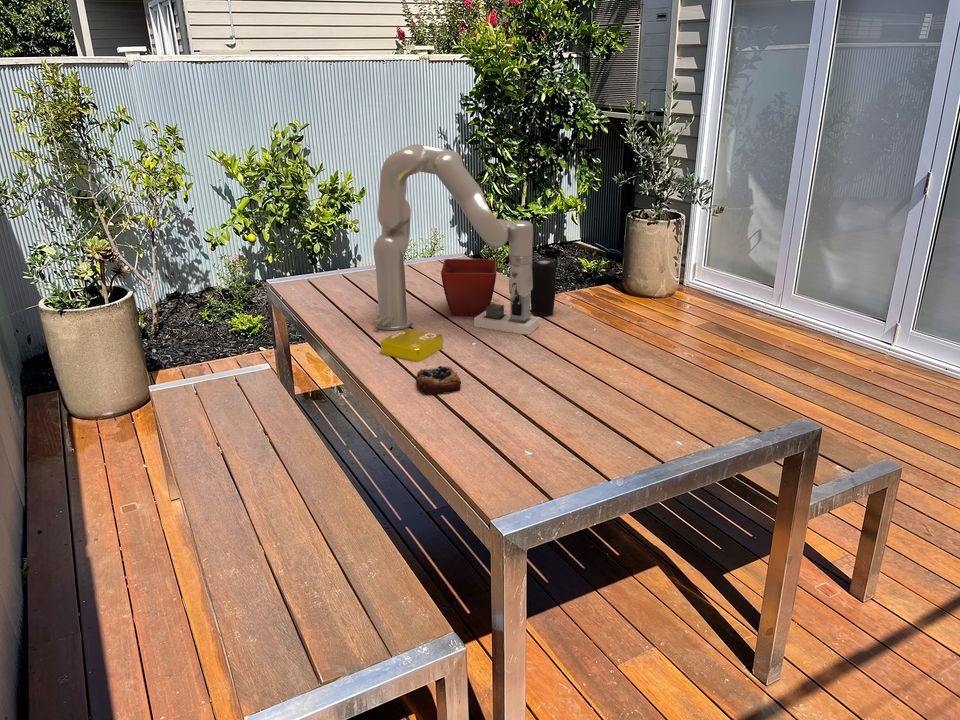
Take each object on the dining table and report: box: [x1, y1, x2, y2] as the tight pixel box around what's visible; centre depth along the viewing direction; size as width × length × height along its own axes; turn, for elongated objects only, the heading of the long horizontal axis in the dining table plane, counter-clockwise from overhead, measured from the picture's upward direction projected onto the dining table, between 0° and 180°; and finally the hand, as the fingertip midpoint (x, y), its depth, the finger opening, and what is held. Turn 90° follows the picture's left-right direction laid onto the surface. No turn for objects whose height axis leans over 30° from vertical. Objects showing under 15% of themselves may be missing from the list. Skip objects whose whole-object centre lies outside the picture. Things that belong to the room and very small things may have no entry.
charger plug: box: [509, 291, 531, 321], centre depth 235 cm, size 5×5×9 cm
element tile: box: [380, 327, 444, 362], centre depth 219 cm, size 15×15×5 cm
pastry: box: [415, 365, 462, 396], centre depth 193 cm, size 11×12×6 cm
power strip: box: [473, 302, 541, 336], centre depth 242 cm, size 18×20×7 cm
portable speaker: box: [530, 257, 557, 318], centre depth 249 cm, size 9×9×20 cm
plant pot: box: [440, 258, 497, 317], centre depth 253 cm, size 19×19×17 cm
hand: (520, 312), depth 236 cm, fingers closed on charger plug, 5 cm apart
